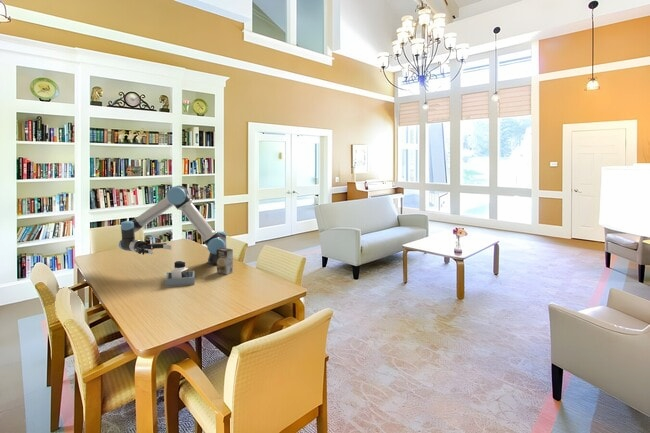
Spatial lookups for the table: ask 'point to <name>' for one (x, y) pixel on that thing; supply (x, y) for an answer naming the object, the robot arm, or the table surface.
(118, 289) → the table surface
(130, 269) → the table surface
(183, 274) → the medicine bottle
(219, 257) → the coffee box
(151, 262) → the table surface
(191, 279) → the tote
